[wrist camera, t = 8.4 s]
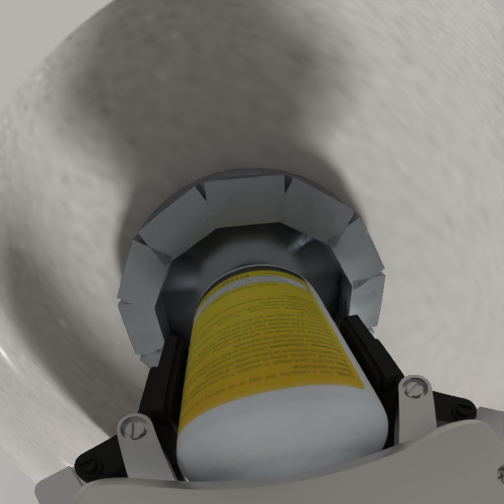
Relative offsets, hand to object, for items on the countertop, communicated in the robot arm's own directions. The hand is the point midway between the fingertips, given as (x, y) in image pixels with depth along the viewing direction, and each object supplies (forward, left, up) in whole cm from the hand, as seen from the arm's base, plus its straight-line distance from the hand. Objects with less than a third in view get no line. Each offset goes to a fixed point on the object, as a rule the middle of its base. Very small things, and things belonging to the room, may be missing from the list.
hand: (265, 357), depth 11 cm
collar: (0, 0, -5) cm, 5 cm away
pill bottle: (0, 0, -3) cm, 3 cm away
